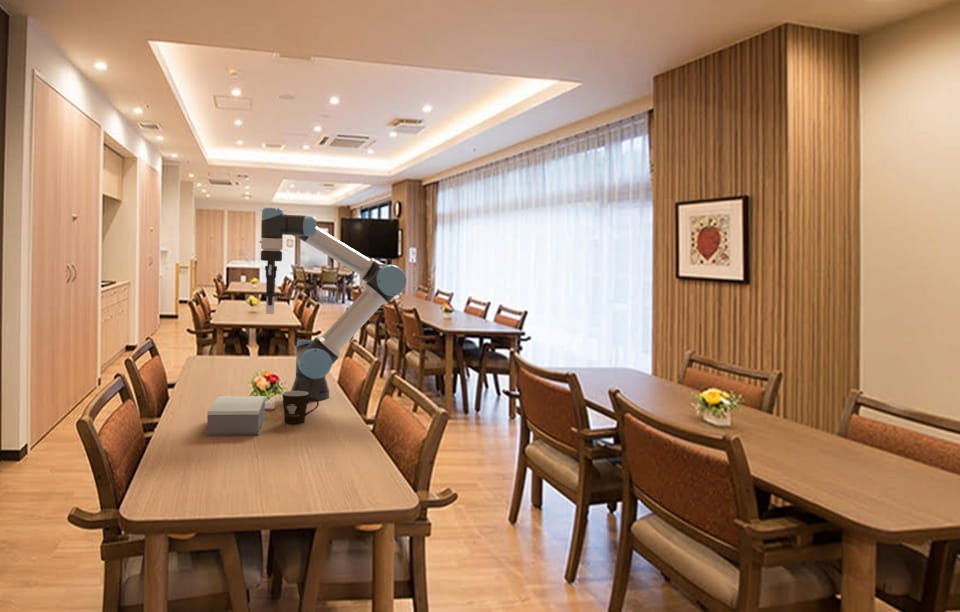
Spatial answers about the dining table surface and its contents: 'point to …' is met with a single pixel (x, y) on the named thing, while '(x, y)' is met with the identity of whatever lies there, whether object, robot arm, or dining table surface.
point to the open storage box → (235, 424)
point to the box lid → (237, 405)
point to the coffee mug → (296, 406)
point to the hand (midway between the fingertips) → (270, 313)
